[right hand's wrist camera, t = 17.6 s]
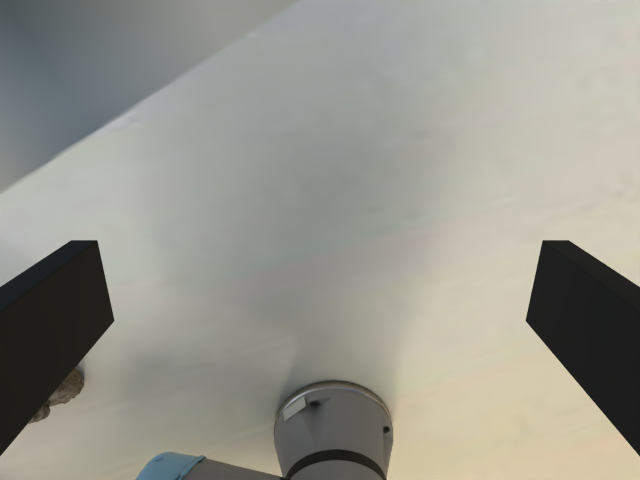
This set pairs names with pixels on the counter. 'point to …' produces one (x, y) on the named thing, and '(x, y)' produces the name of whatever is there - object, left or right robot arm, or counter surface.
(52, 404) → the fossil
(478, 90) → the counter surface
